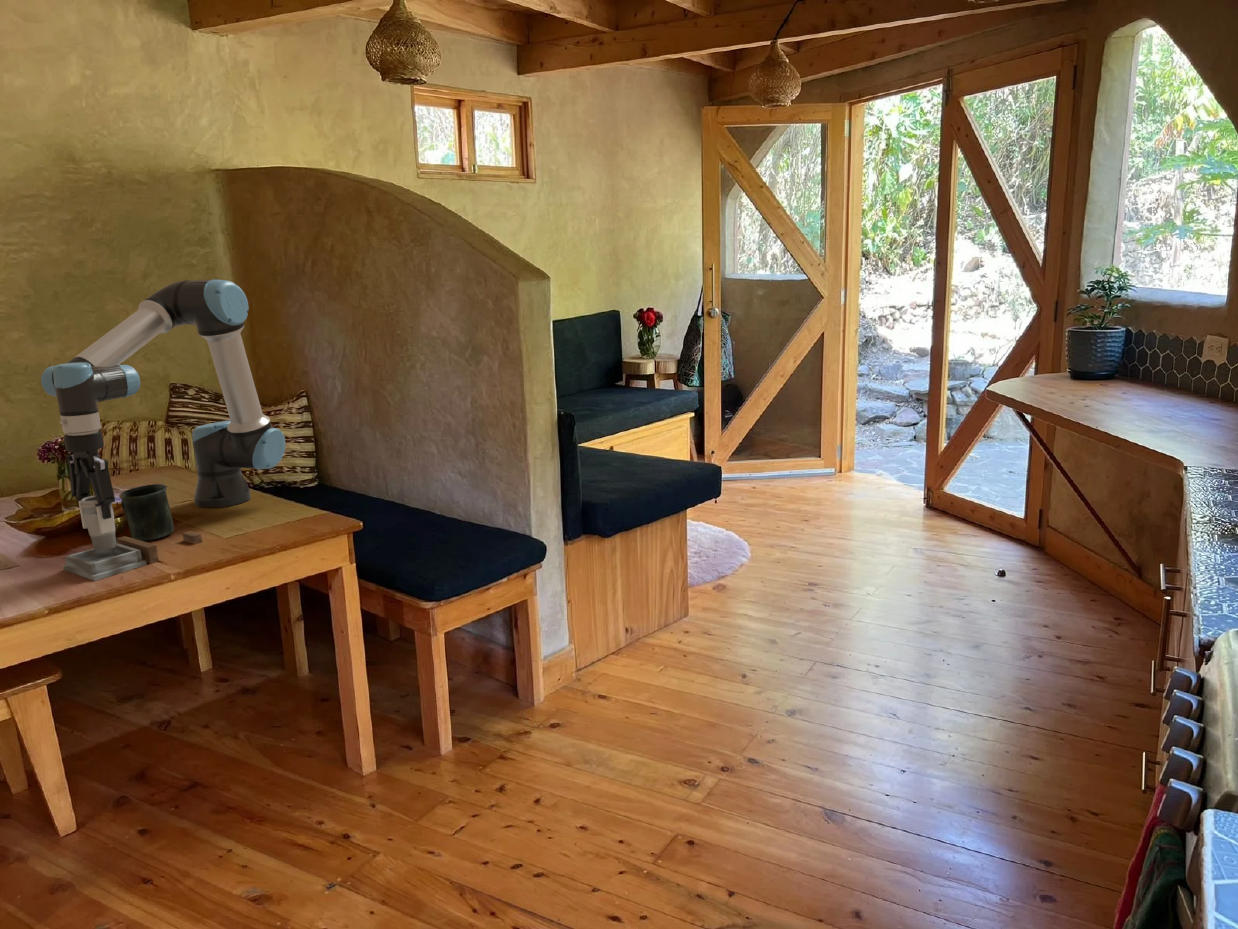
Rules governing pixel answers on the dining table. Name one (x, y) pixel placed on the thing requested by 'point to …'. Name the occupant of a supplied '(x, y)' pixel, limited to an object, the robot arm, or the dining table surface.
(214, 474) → the robot arm
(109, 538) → the cup
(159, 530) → the mug
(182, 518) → the dining table surface
